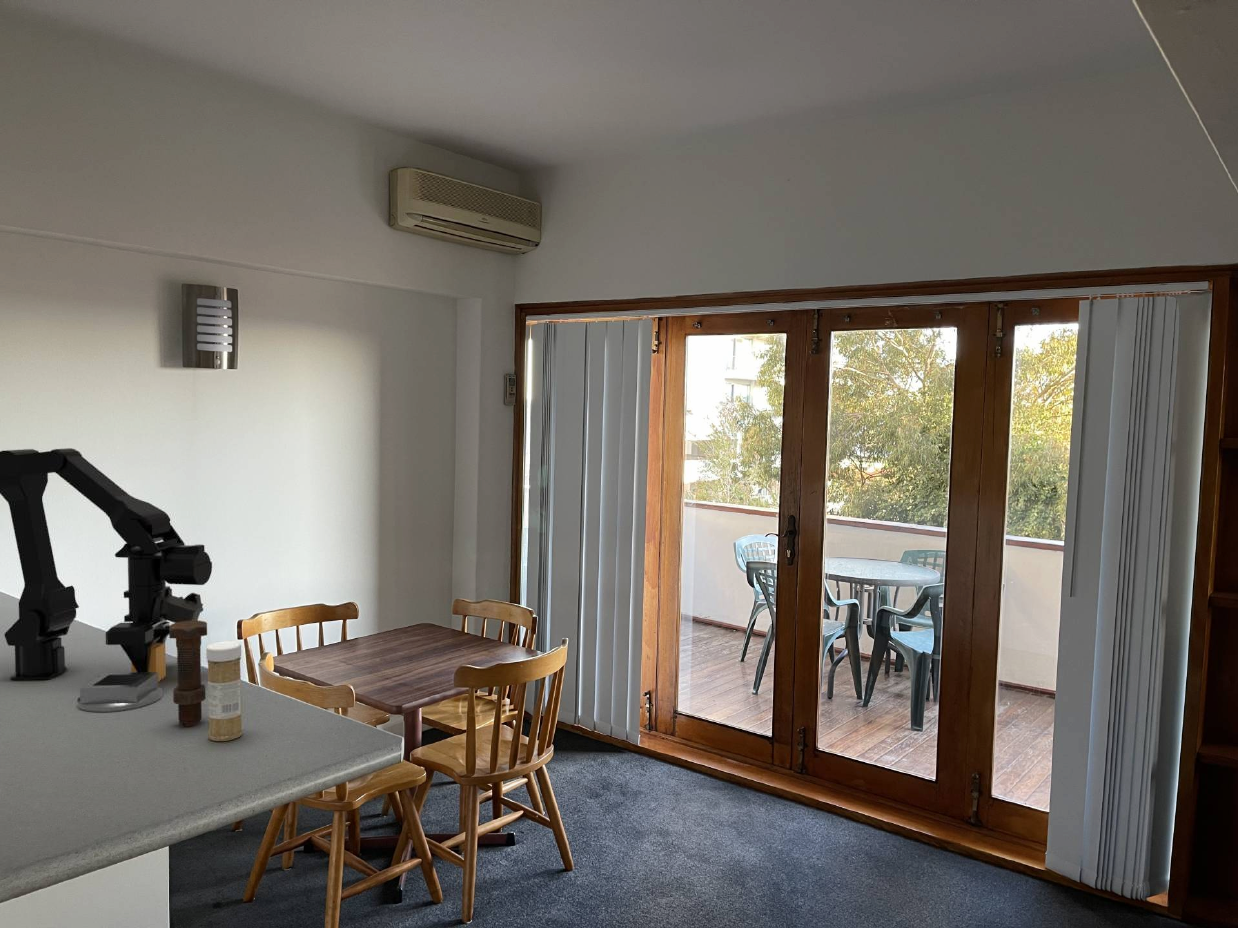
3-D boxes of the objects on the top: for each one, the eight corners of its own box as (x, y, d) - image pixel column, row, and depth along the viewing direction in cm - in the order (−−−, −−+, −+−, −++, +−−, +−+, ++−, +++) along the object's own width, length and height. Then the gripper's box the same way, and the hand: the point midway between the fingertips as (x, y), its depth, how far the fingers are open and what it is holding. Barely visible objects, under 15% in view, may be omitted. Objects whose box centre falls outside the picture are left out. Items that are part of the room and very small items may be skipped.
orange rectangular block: (132, 683, 157) (131, 648, 157) (142, 676, 161) (141, 642, 161) (156, 683, 158) (155, 648, 157) (165, 676, 162) (165, 642, 161)
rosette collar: (62, 712, 142) (61, 691, 142) (99, 689, 154) (98, 669, 154) (144, 711, 143) (143, 690, 143) (174, 688, 155) (173, 668, 155)
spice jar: (241, 729, 136) (240, 638, 135) (243, 739, 131) (242, 646, 131) (207, 733, 134) (205, 642, 133) (208, 744, 129) (206, 649, 129)
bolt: (217, 718, 140) (216, 620, 139) (199, 730, 135) (197, 628, 134) (181, 717, 141) (179, 619, 140) (161, 728, 136) (159, 627, 135)
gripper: (174, 593, 150) (176, 688, 151) (214, 573, 168) (216, 657, 169) (102, 594, 149) (105, 689, 150) (150, 573, 167) (152, 658, 168)
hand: (148, 672), depth 159 cm, fingers closed on orange rectangular block, 4 cm apart
